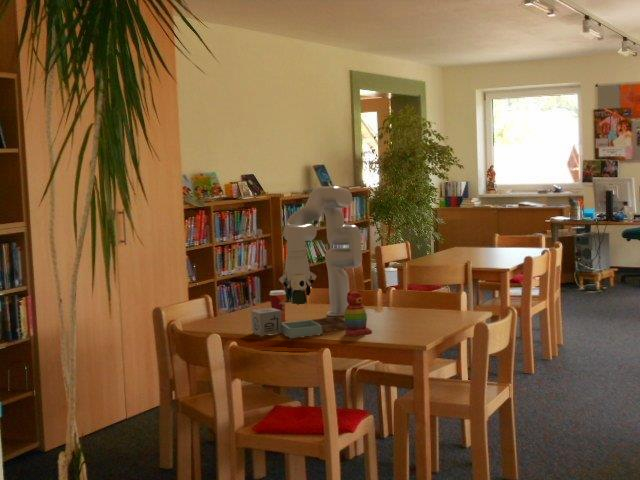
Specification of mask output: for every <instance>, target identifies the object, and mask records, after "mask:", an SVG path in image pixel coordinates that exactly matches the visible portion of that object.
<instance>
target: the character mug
mask: <svg viewBox="0 0 640 480" xmlns="http://www.w3.org/2000/svg"><path fill="white" fill-rule="evenodd" d="M290 288H291V291H292V297H291V299H292V300H291V303H292V304H295V305H297V306H299V305H304V304H307V302H308V301H307V295H306V288H307V285H306V277H305V274H304V275H293V280H291V286H290Z"/></svg>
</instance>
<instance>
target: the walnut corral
mask: <svg viewBox="0 0 640 480" xmlns="http://www.w3.org/2000/svg"><path fill="white" fill-rule="evenodd" d="M312 320H313V321H314V322H316V323H318V324H321V325H322V331H323V332H327V331H326V330H331V331H336V330H335V329H340V330H346V329H347V327H346V323H345V319H342V318H340V316H331V317H324V318H315V319H312ZM328 323H330V324H328Z"/></svg>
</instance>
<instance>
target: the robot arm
mask: <svg viewBox="0 0 640 480" xmlns="http://www.w3.org/2000/svg"><path fill="white" fill-rule="evenodd" d="M352 202H353V195H352V192H351V191H350V190H349V189H348V188H345V187H341V186H338V185H337V186H336V185H335V186H334V185H333V186H332V185H331V186H329V185H327V186H317V187H315V188H313V189H312V191H311V193H310V194H309V196H308V199H307V201H306V202H305V205H304V206H303V207H301V208H300V209H298V210H297V211H295V212H294V213H292V214H291V215H290V216H289V217H288V219H287V221H286V222H285V225H284V227H283V231H282V233H283V238H284V239H285V240H286V245H287V246H286V247H287V258H285V266H284V268H285V269H284V271H285V272H284V274H283V275H282V276H280V278H278V280H279V282H281V284H282V285H283V286H284V287H286V295H287V296H288V297H289V298H292V295H293V291H292V290H291V288H290V286H291V280H293V275H304V274H305V277H306V285H307V288H306V289H305V295H306V296H308V297H309V296H310V294H311V291H312V290H311V286H312V284H313V283H314V282H315V280H316V279H317V275H316V274H315V273H314V272H312V271H310V265H309V259H308V257H307V255H309V253H310V251H309V250H306V242H310V241H313V240H314V239H315V238H316V236H317V233H318V232H317V231H318V230H317V228H316V226H315V225H314V224H312V222H314V221H317V220H319V219H320V218H321V217H322V215H323V214H324V216H325V226H326V239H327V243H328V244H329V245H331V246H349V247H333V248H330V249H328V250H327V251H326V252H325V255H324V259H325V265H326V268H327V269H326V270H327V278H328V292H329V293H328V294H329V311H327V312H326V315H327V316H328V317H329V316H330V317H345V310H346V308H347V306H348V305H349V304H348V302H347V293H348V292H350V283H349V281H350V280H349V275H348V273H347V272H346V270H345V269H357V268H360V267H361V265H362V263H363V253H362V252H363V250H362V235H361V230H360V228H359V226H357V225H355V224H345V217H344V216H345V215H344V212H343V210H342V209H341V208H343V209H344V208H348V207H350V206H351V204H352ZM286 281H287V282H286Z"/></svg>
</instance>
